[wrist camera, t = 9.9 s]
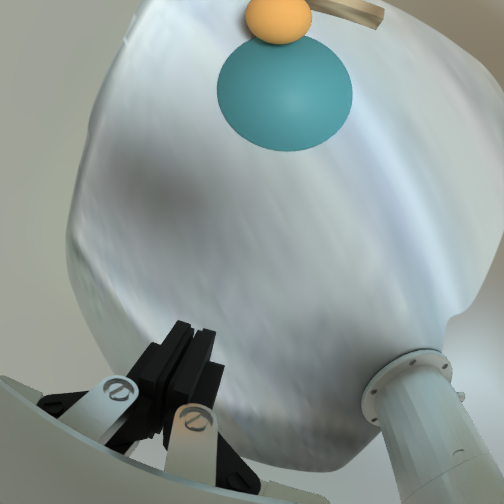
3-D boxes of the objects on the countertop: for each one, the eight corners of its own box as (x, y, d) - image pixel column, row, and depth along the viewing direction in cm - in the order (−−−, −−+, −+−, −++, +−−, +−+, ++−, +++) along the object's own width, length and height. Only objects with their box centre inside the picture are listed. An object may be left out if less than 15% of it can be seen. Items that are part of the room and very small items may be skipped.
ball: (310, 53, 18) (310, 41, 21) (313, -9, 13) (312, -9, 16) (240, 48, 18) (252, 37, 22) (237, -11, 14) (251, -12, 17)
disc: (361, 53, 20) (362, 53, 20) (335, 168, 23) (335, 168, 23) (237, 24, 20) (236, 23, 20) (202, 134, 23) (202, 134, 23)
